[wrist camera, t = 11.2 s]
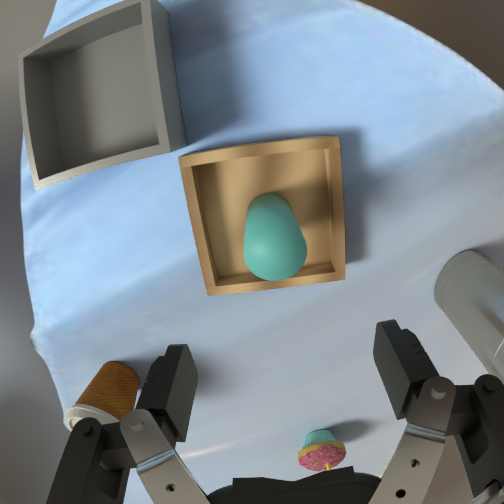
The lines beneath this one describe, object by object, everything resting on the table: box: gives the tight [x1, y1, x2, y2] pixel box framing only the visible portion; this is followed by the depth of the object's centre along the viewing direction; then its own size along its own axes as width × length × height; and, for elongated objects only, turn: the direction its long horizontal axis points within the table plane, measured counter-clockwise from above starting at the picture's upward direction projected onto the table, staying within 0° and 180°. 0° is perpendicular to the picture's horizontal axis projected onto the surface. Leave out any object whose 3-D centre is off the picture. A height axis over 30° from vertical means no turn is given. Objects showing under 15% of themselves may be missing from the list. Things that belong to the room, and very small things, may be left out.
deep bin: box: [18, 0, 187, 190], centre depth 22 cm, size 15×15×6 cm
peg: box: [243, 193, 307, 281], centre depth 25 cm, size 4×4×9 cm
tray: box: [178, 135, 345, 296], centre depth 29 cm, size 14×14×3 cm
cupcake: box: [298, 430, 346, 471], centre depth 41 cm, size 9×8×12 cm
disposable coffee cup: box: [67, 361, 139, 431], centre depth 35 cm, size 10×10×12 cm
